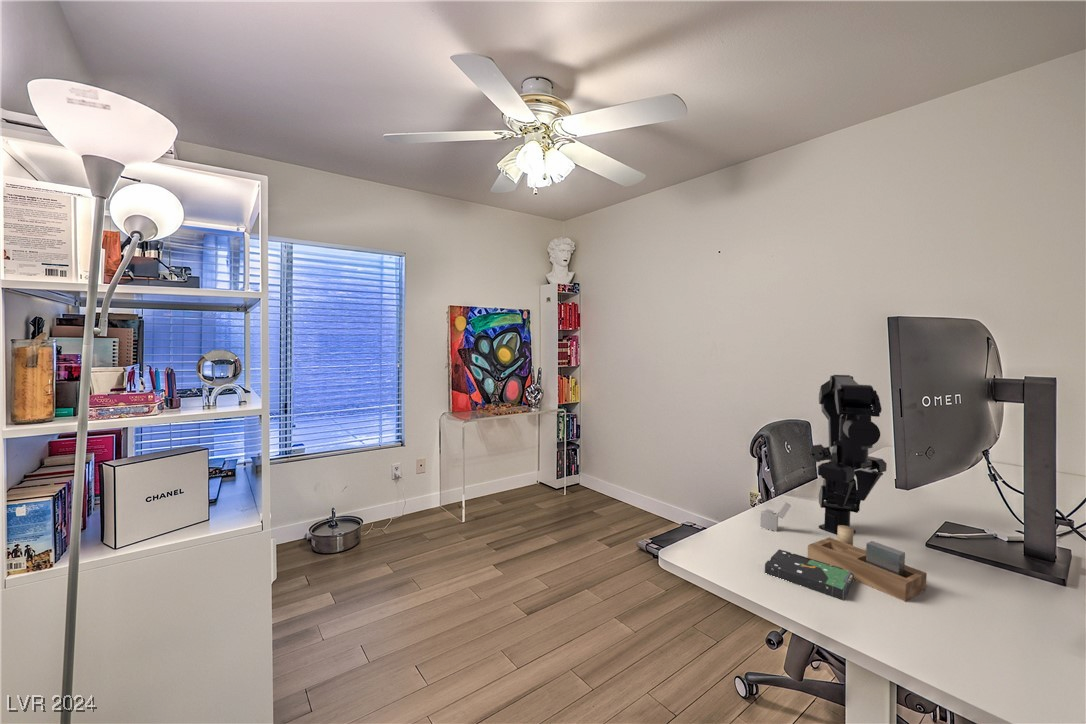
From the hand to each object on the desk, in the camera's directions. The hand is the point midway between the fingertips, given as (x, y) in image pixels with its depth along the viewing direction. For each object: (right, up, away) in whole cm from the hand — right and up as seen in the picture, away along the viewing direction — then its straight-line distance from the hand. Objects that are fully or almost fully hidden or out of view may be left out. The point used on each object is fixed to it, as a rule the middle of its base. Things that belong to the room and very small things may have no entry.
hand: (851, 503), depth 104 cm
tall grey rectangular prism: (0, -14, -10) cm, 17 cm away
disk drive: (-15, -14, -9) cm, 22 cm away
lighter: (-10, -13, +16) cm, 22 cm away
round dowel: (+1, -13, +3) cm, 13 cm away
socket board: (-2, -13, -7) cm, 15 cm away
